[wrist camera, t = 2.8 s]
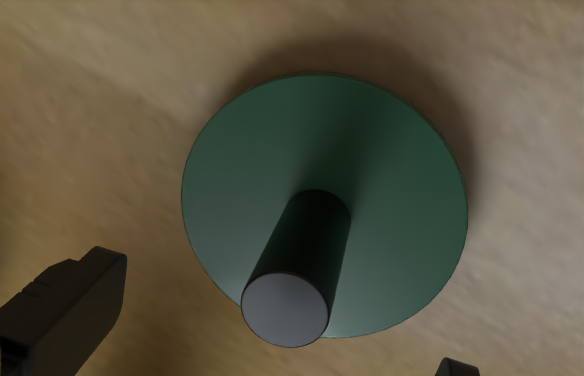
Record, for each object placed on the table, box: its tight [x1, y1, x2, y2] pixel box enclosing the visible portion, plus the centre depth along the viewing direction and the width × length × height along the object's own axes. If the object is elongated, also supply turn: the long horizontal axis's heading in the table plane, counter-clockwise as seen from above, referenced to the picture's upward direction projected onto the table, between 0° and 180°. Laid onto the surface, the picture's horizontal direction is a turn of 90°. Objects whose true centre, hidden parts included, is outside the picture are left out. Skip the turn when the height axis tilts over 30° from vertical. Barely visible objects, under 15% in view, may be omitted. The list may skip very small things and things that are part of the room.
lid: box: [181, 71, 468, 348], centre depth 17 cm, size 10×10×7 cm
